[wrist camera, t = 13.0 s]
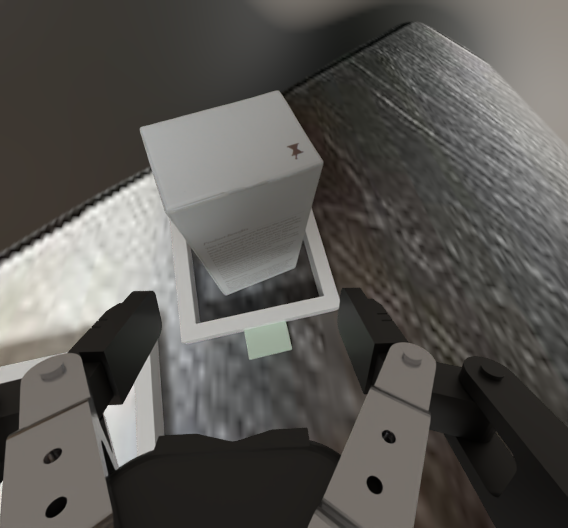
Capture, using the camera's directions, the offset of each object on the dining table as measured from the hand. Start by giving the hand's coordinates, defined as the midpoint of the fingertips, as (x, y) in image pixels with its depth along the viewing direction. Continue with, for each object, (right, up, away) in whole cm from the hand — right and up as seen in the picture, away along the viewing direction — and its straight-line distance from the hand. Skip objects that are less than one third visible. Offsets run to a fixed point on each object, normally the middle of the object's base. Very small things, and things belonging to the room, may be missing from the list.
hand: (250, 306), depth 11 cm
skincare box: (-1, +2, +10) cm, 10 cm away
